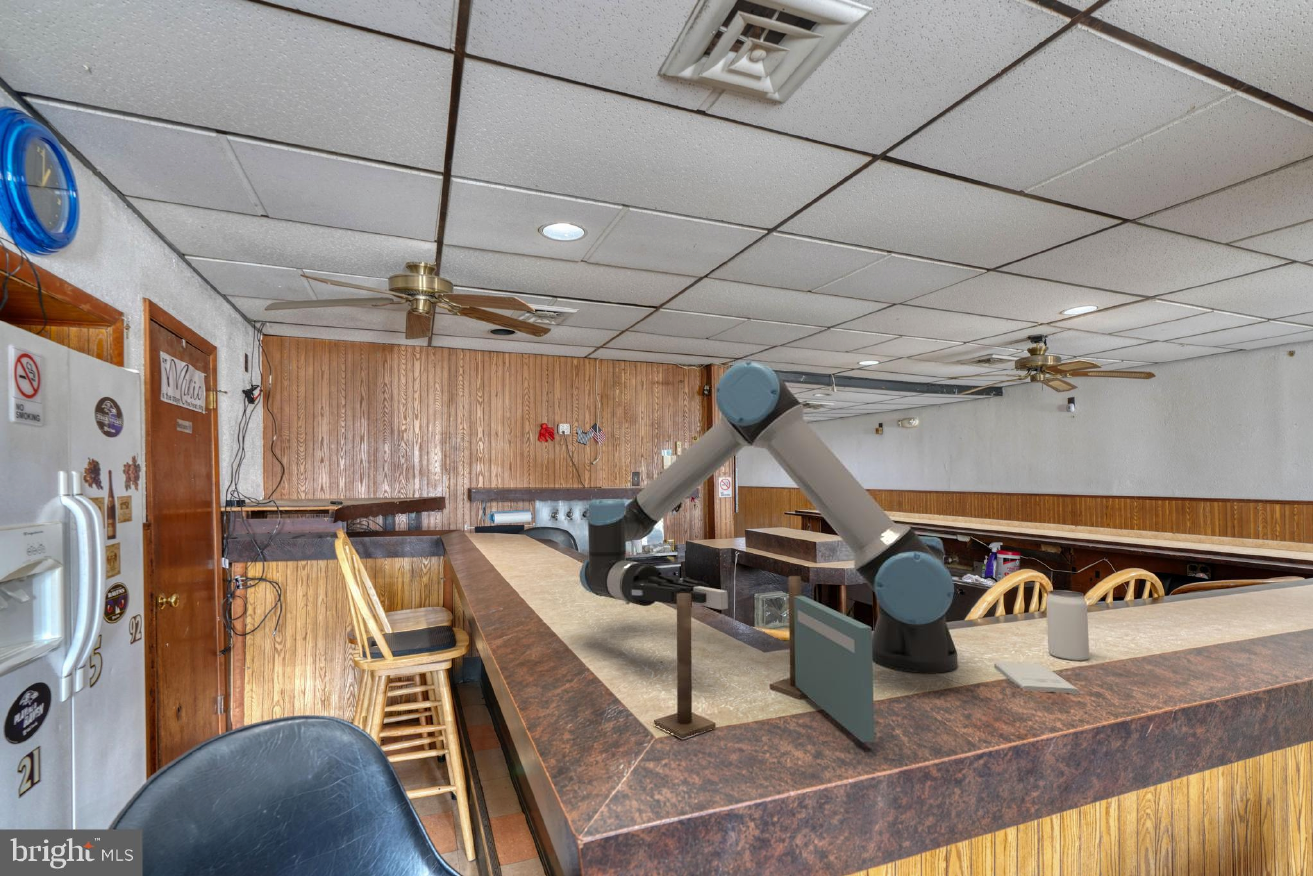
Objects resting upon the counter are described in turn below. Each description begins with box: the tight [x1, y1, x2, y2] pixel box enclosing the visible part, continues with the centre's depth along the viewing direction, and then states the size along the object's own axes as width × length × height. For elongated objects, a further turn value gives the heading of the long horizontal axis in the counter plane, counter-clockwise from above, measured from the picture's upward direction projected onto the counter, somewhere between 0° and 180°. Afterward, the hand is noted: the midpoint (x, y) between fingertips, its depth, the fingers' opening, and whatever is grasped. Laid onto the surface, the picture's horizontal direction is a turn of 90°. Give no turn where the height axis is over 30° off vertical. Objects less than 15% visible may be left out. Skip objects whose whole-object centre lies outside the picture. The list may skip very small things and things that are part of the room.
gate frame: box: [653, 575, 809, 738], centre depth 91 cm, size 30×6×18 cm, turn 128°
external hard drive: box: [993, 661, 1080, 695], centre depth 102 cm, size 2×8×12 cm
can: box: [1045, 589, 1090, 662], centre depth 116 cm, size 6×6×12 cm
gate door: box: [794, 595, 875, 743], centre depth 87 cm, size 21×2×14 cm, turn 10°
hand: (724, 600), depth 96 cm, fingers closed
